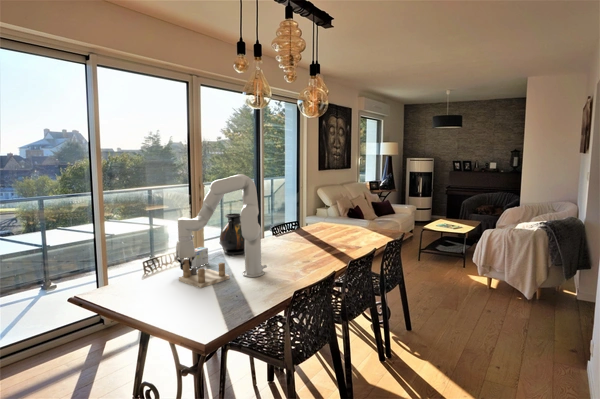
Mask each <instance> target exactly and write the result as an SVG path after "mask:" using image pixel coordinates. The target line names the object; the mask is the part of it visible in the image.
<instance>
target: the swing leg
mask: <svg viewBox="0 0 600 399" xmlns="http://www.w3.org/2000/svg"><path fill="white" fill-rule="evenodd" d="M183 263H184V264H189V259H188V258H184V260H183ZM197 272H198V267H197V268H196V267H191V269H190V274H191V275H197Z"/></svg>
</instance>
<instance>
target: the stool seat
mask: <svg viewBox="0 0 600 399" xmlns="http://www.w3.org/2000/svg"><path fill="white" fill-rule="evenodd" d="M217 265H218V266H217V267H218V271H217V270H213V269H209V268H206V269H205V268H204V267H203V268H202V267H201V268H197V275H191V274H190V270H191V269H190V267H189V264H184V265H183V270H182V276H179V277H178V281H179V282H182V283H185V284H187V285H191V286H193V287H196V288H199V289H202V288H205V287H208V286H211V285H214V284H218V283H221V282H224V281H226V280H229V279H230V278H231V277H230V275H229V274H228V273H227V274H226V263H225V262H219V263H217Z"/></svg>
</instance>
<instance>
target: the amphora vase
mask: <svg viewBox="0 0 600 399" xmlns="http://www.w3.org/2000/svg"><path fill="white" fill-rule="evenodd" d="M224 217H225V218H227V223H226V224H225V225H224V227H223V228H222V229H221V231H220V233H219V234H220V235H219V244H220V245H221V247H222V248H223V249H224V250H223V253H224V254H225V255H229V256H240V255H243V254H244V255H245V239H244V237H243V236H242V230H241V218H240V212H239V213H233V212H232V213H227V214H225V215H224Z"/></svg>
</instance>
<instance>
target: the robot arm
mask: <svg viewBox="0 0 600 399" xmlns="http://www.w3.org/2000/svg"><path fill="white" fill-rule="evenodd" d="M256 186H257V185H256V184H255V181H254V180H253V179H252V178H251V177H250V176H248V175H245V174H242V173H239V174H235V175H231V176H229V177H225V178H220V179H216V180H214V181H212V182H211V184H210V186H209V191H207V194H206V195H205V197H204V199H203V200H202V206H201V209H200V210H199V212H198V213H197V216H196V217H194V218H190V217H188V216H187V217H179V218H178V220H177V229H178V230H177V231H178V232H177V234H178V235H177V236H178V237H177V238H178V240H177V241H176V246H175V247H176V248H175V256H174V259H173V260H174V261H177V262H178V263H179V267H180V270H182V271H183V265H184V263H183V260H184V259H189V267H190V270H191V268H193V267H192V261H193V259H194V258H195V257H196V256H197V254H196V253H195V244H194V240H193V238H195V236H194V235H193V233H192V232H199V231H201V230H202V229H203V228H205V227H206V226H207V224H208V223H209V221H210V219H211V218H212V216H213V215H214V213H215V211H216V209H217V207H218V205H219V203H220V202H221V200H222V199H223V197H224V195H225V194H230V193H233V192H237V191H241V196H242V208H241V210H240V212H239V214H240V218H241V219H240V221H241V230H242V236H243V237H244V239H245V253H244V271H242V276H243V277H246V278H257V277H258V278H259V277H261V276H263V275H264V274H265V271H264V269H266V268H267V267H268V266H267V264H262V228H261V225H260V223H259V221H258V220H259V219H258V216H259V213H260V211H259V210H260V209H259V202H258V193H257V187H256Z"/></svg>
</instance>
